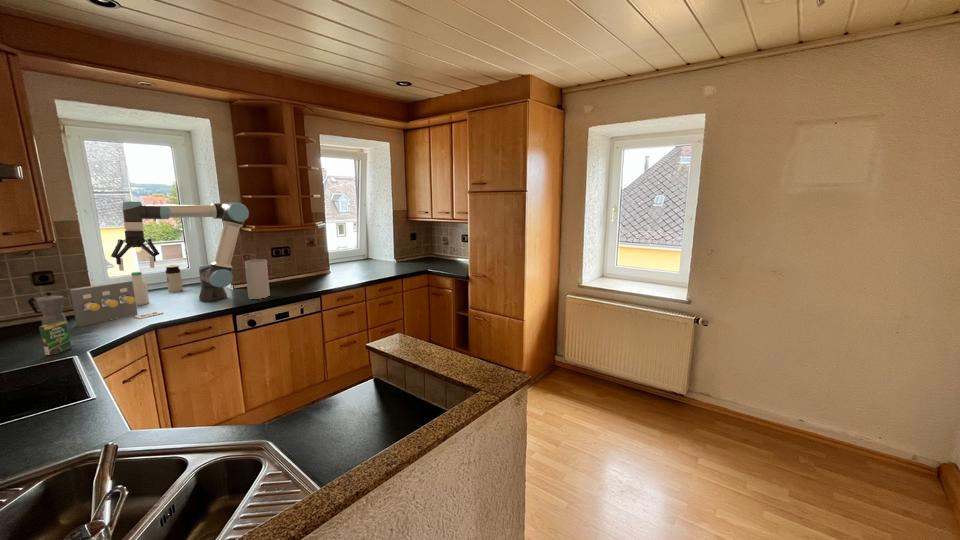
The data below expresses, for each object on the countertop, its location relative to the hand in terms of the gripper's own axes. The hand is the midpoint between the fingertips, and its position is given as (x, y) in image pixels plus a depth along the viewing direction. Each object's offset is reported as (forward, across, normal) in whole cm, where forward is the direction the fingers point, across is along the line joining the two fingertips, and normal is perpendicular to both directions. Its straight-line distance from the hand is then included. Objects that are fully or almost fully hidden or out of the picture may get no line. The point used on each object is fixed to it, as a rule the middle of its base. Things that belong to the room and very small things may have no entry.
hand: (137, 269), depth 208 cm
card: (+27, -3, 0) cm, 27 cm away
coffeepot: (+29, +28, -20) cm, 45 cm away
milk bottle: (+27, -14, -31) cm, 43 cm away
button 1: (+20, +18, -5) cm, 27 cm away
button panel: (+28, +10, -10) cm, 31 cm away
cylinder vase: (+24, -57, +17) cm, 64 cm away
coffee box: (+29, +41, +27) cm, 57 cm away
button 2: (+19, +3, -5) cm, 20 cm away
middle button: (+19, +11, -5) cm, 23 cm away
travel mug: (+26, -42, -49) cm, 69 cm away
